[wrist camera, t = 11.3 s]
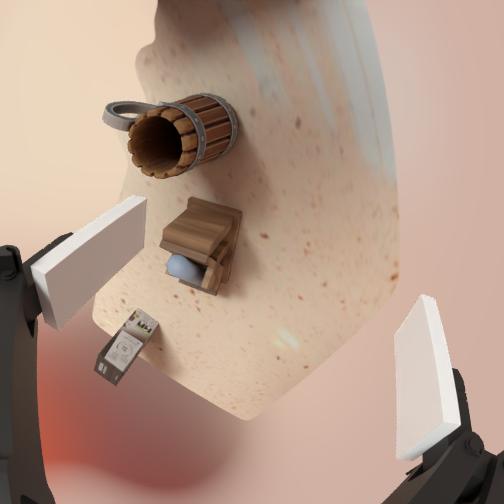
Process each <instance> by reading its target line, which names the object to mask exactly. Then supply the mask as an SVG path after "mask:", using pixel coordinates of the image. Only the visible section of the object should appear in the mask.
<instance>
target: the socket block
mask: <svg viewBox="0 0 504 504" xmlns="http://www.w3.org/2000/svg"><path fill="white" fill-rule="evenodd" d="M241 214H242V212H241V211H238V210H235V209H231V208H228V207H225V206H222V205H218V204H215V203H212V202H208V201H205V200H201V199H198V198H195V197H190V198H189V199H188V205H187V210H185V211H184V212H183V213H182V214H181V215H179V216H178V217H177V218H176V219H175V220H174V221H173V222H171V223H170V224H169V225H168V226H167V227H166V228H164V229H163V240H161V243H160V246H159V247H161V248H163V249H165V250H167V251H169V252H171V253H172V256H173V255H177V254H178V255H182V256H184V257H185V258H187V259H189V260H190V261H192V262H193V263H195V264H197V265H198V266H200V267H201V268H203V269H205V270H206V273H205V276H204V279H203V282H202V285H201V286H197V285H194V284H192V283H189V282H187V281H184V280H182V279H179V282H180V283H182V284H185V285H187V286H190V287H193V288H196V289H198V290H201V291H204V292H206V293H209V294H212V295H215V296H216V295H217V292H218V289H219V286H220V283H221V282H223V283H227V281H228V278H229V273H230V268H231V263H232V258H233V253H234V248H235V244H236V239H237V234H238V229H239V224H240V219H241ZM172 256H171V257H172ZM165 274H168V275H170V276H172V275H171V274H170V273H169V272H168V270H166V273H165ZM174 277H175V276H174Z"/></svg>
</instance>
